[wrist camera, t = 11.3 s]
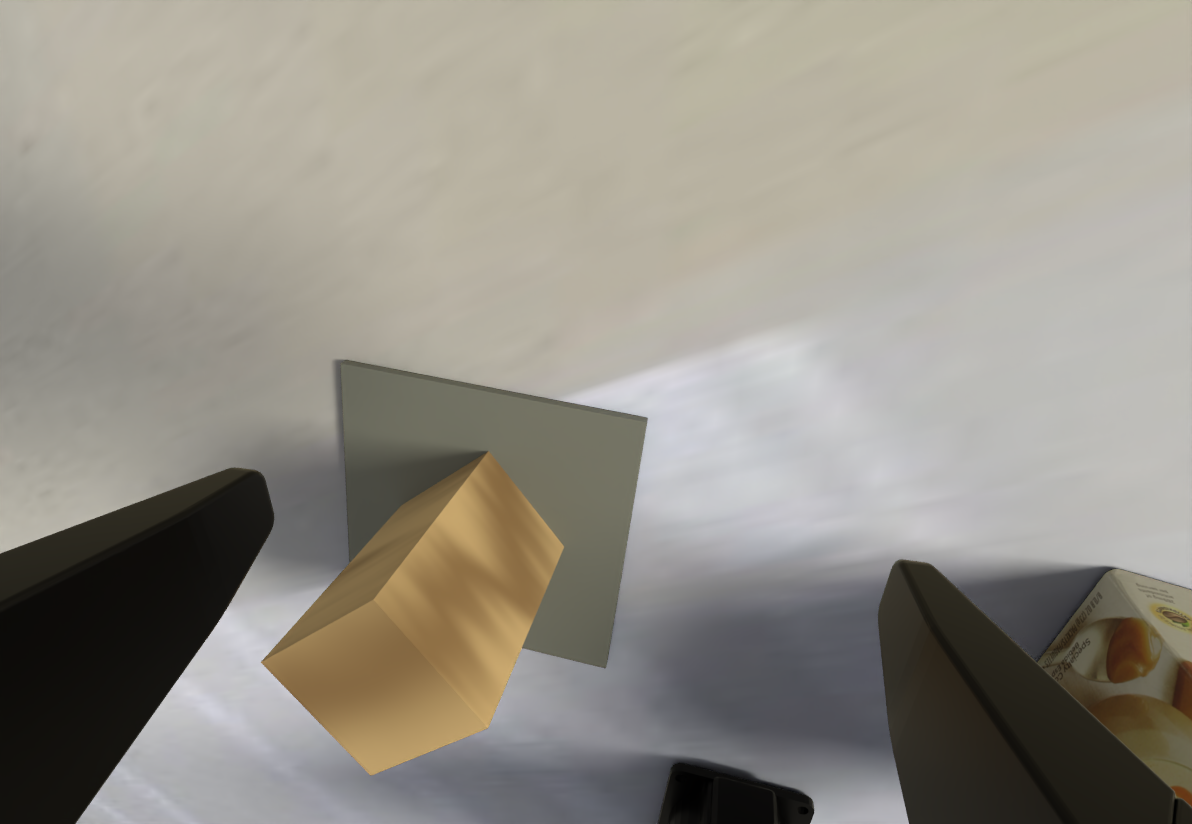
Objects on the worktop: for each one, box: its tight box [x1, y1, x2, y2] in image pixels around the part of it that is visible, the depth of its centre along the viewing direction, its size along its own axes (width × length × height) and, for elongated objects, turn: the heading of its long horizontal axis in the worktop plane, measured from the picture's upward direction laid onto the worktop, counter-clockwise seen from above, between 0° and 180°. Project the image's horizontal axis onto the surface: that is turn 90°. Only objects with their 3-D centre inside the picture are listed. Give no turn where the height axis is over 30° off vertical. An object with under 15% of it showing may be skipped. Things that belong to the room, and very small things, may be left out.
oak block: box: [261, 451, 564, 775], centre depth 23 cm, size 5×5×9 cm
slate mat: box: [340, 360, 648, 668], centre depth 27 cm, size 12×12×1 cm
